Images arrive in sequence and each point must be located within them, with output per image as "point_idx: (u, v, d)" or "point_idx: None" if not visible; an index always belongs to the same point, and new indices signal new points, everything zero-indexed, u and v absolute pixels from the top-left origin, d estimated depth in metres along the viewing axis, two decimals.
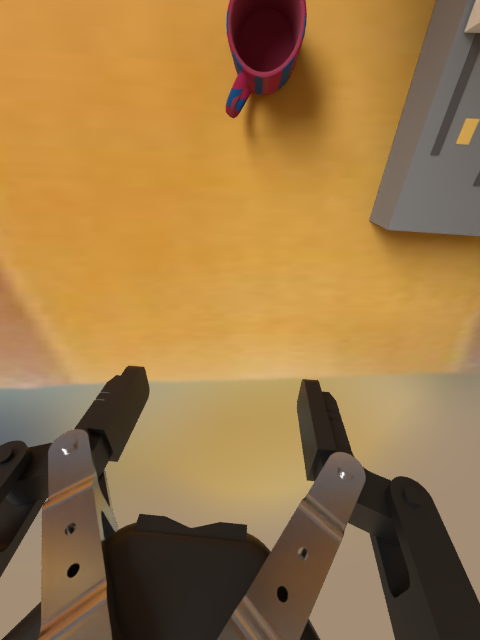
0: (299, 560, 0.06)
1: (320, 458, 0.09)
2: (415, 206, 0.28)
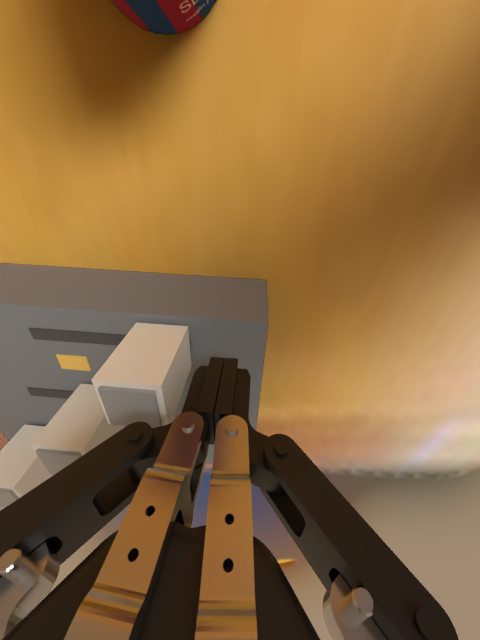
0: (229, 526, 0.07)
1: None
2: None
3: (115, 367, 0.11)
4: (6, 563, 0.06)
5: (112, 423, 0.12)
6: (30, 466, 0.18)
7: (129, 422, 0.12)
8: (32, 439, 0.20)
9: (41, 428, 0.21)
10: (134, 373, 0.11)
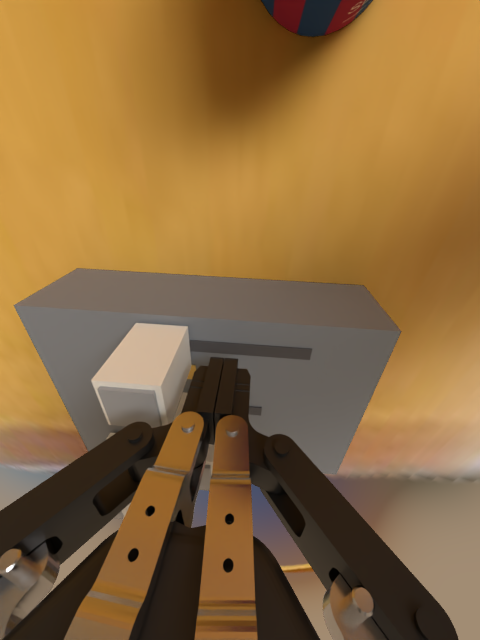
0: (229, 526, 0.07)
1: None
2: (70, 337, 0.16)
3: (115, 367, 0.11)
4: (6, 563, 0.06)
5: (112, 423, 0.12)
6: None
7: (129, 422, 0.12)
8: None
9: None
10: (133, 373, 0.11)
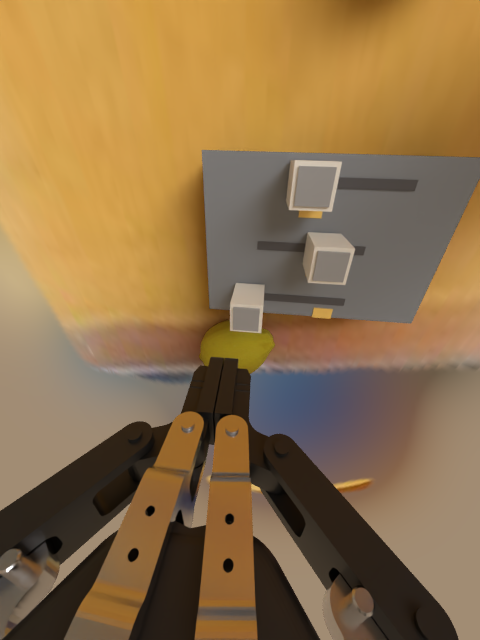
0: (229, 526, 0.07)
1: None
2: (234, 180, 0.22)
3: (303, 160, 0.17)
4: (6, 563, 0.06)
5: (295, 204, 0.18)
6: (263, 298, 0.24)
7: (308, 201, 0.17)
8: (250, 288, 0.25)
9: (251, 284, 0.26)
10: None
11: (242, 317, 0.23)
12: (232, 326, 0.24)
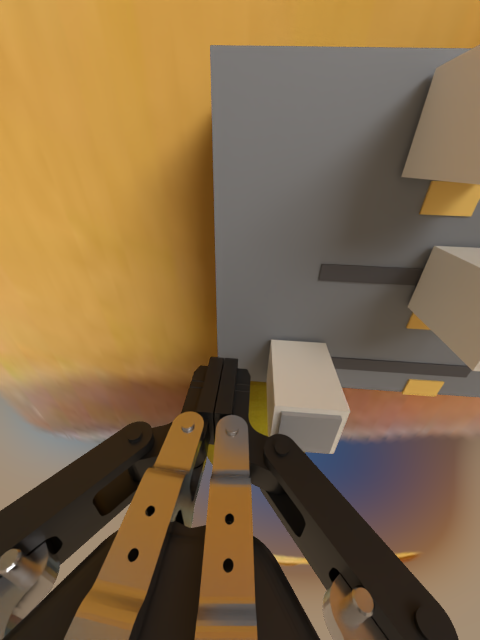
0: (229, 526, 0.07)
1: None
2: (284, 129, 0.09)
3: None
4: (6, 563, 0.06)
5: None
6: (340, 384, 0.11)
7: None
8: (303, 355, 0.13)
9: (300, 343, 0.14)
10: None
11: (300, 431, 0.11)
12: None
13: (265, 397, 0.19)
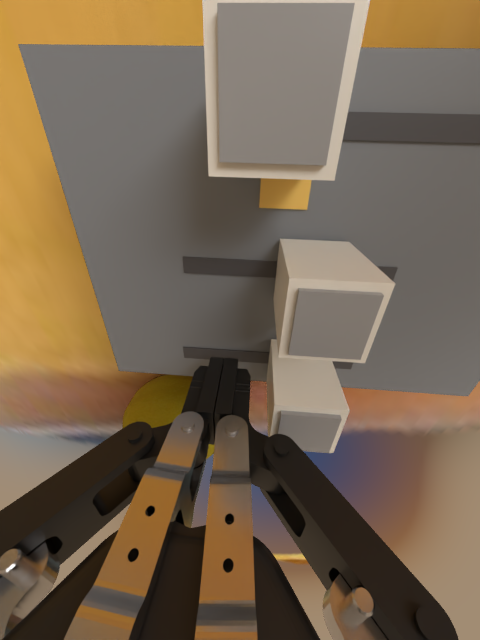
0: (229, 526, 0.07)
1: None
2: (110, 124, 0.10)
3: None
4: (6, 563, 0.06)
5: (223, 157, 0.06)
6: (340, 384, 0.11)
7: (262, 146, 0.06)
8: None
9: None
10: None
11: (299, 430, 0.11)
12: None
13: (179, 390, 0.19)
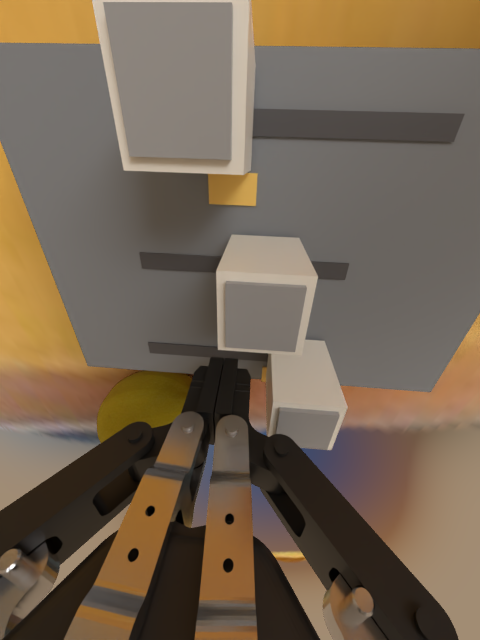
0: (229, 526, 0.07)
1: None
2: (57, 121, 0.10)
3: None
4: (6, 563, 0.06)
5: (132, 151, 0.06)
6: (338, 381, 0.11)
7: (167, 141, 0.06)
8: (302, 352, 0.13)
9: None
10: None
11: (298, 427, 0.11)
12: None
13: (152, 386, 0.20)
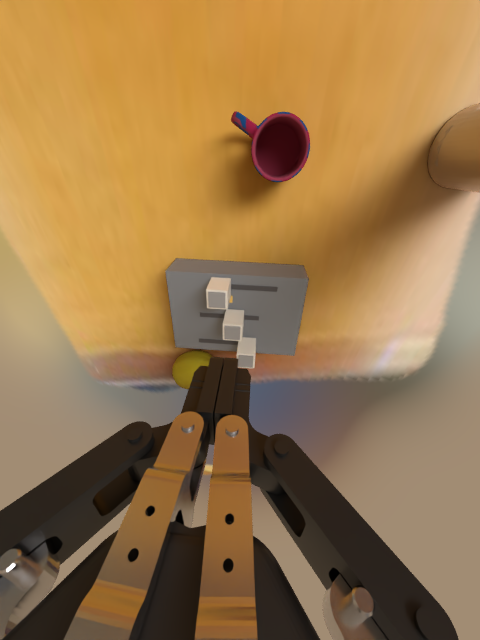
0: (229, 526, 0.07)
1: None
2: (183, 284, 0.40)
3: (211, 287, 0.36)
4: (6, 563, 0.06)
5: (209, 306, 0.36)
6: (255, 349, 0.42)
7: (215, 305, 0.36)
8: (247, 341, 0.43)
9: (248, 338, 0.44)
10: (218, 288, 0.35)
11: (243, 360, 0.41)
12: None
13: (196, 356, 0.50)
